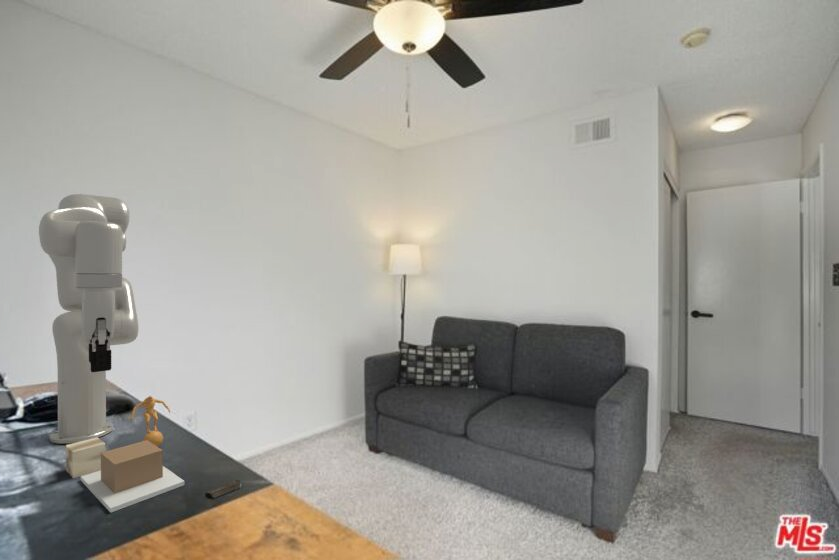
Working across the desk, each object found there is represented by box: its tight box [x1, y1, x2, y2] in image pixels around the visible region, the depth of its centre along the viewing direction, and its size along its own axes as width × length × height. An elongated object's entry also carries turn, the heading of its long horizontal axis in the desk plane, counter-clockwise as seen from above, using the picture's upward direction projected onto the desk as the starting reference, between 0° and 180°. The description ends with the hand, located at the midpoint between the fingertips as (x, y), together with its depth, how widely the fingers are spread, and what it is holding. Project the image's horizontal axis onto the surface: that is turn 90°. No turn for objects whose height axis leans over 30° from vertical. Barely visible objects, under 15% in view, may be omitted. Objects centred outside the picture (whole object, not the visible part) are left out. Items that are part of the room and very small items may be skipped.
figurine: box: [129, 395, 171, 447], centre depth 99 cm, size 8×6×12 cm
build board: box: [80, 440, 185, 514], centre depth 82 cm, size 18×12×6 cm, turn 52°
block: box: [205, 479, 242, 500], centre depth 79 cm, size 4×6×2 cm, turn 144°
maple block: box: [65, 437, 106, 479], centre depth 87 cm, size 5×5×5 cm
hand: (99, 366), depth 85 cm, fingers open, 9 cm apart
